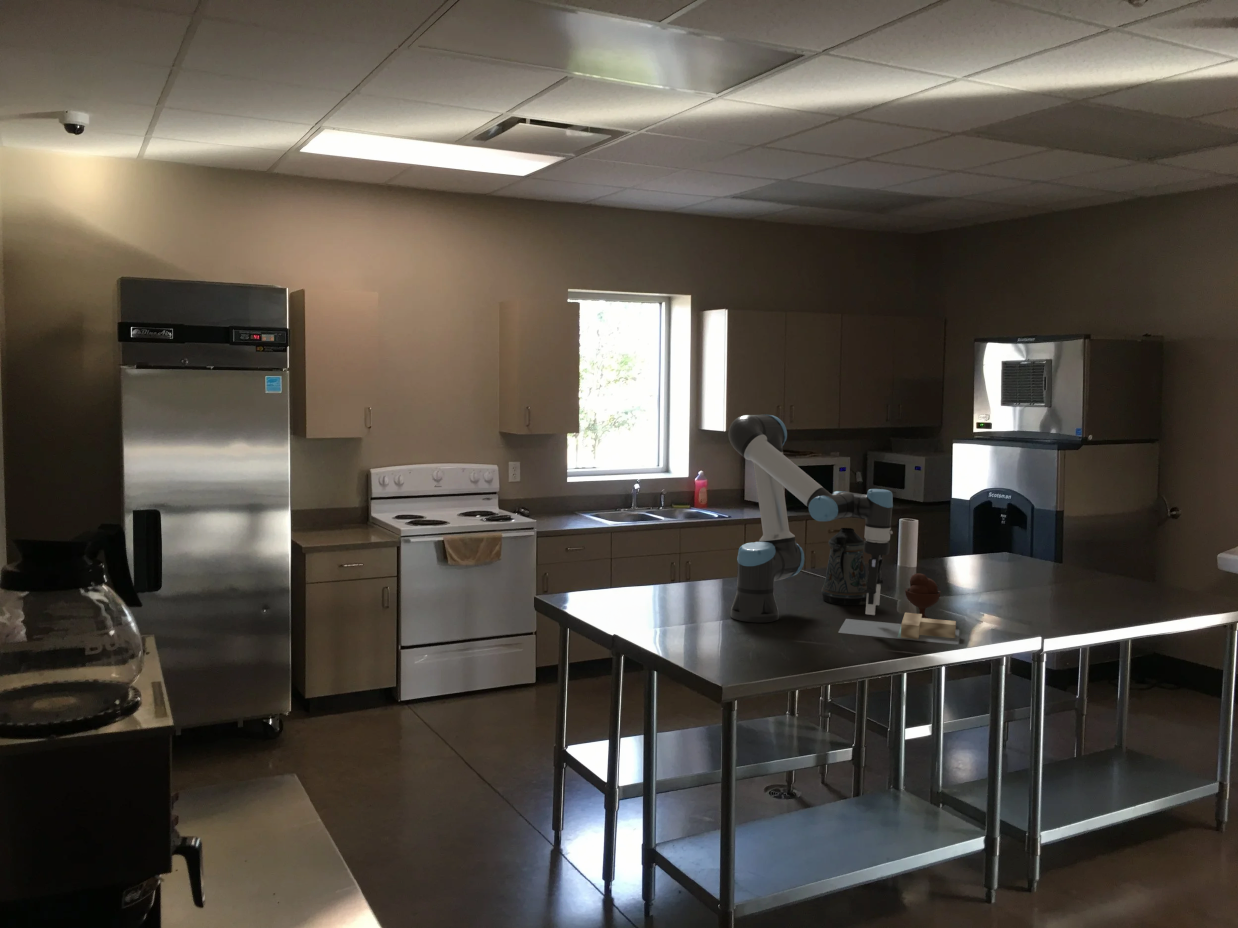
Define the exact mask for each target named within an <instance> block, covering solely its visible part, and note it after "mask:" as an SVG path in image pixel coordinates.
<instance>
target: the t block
mask: <svg viewBox="0 0 1238 928" xmlns="http://www.w3.org/2000/svg"><path fill="white" fill-rule="evenodd" d="M900 624H901V637H902V638H912V639H919V635H927V636H937V637H947V638H955V632H956V629H957V621H956V620H950V619H949V620H945V619H936V618H935V619H934V618H929V619H927V618H922V614H919V613H914V612H904V615H903V618H902V621H901V623H900Z"/></svg>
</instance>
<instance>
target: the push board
mask: <svg viewBox="0 0 1238 928" xmlns="http://www.w3.org/2000/svg"><path fill="white" fill-rule="evenodd" d="M837 633H840V634H849V635H857V636H866V637H867V636H870V637H879V638H889V639H897V640H907V641H908V640H910V641H918V642H928V643H938V644H949V645H959V640H960V639H959V638H960V629H957V628H956V632H955V638H947V637H937V636H927V635H919V639H912V638H902V637H901V623H894V622H884V621H883V622H882V621H873V620H864V619H863V620H862V619H851V618H845V620H844V622H843V623H842V624H841V627H840V628H839V630H838V632H837Z"/></svg>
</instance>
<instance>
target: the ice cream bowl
mask: <svg viewBox="0 0 1238 928" xmlns="http://www.w3.org/2000/svg"><path fill="white" fill-rule="evenodd" d="M909 586H910V587H909V588H905V591H904V592H905V596H906V599H907V600H908V602H909V603H910V604H911V605H913V606H915V607H917V608H918V610H919V611H918V614H922V618H927V619H930V617H928V616H927V615H926V609H927V608H931V607H933V606H934V605H936V604H937V602H938V601H939V600H940V596H941V590H938V585H937V583H936V582H935V580H933V579H932V578H929V577H927V575H926V574H924V573H914V574H913V575H911V577H910V579H909Z"/></svg>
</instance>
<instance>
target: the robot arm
mask: <svg viewBox="0 0 1238 928" xmlns="http://www.w3.org/2000/svg"><path fill="white" fill-rule="evenodd" d="M787 439H788V431H787V427H786V425H785V423H784V422H783V421H782V419H780V418H779V417H777V416H775V415H772V414H743V415H740V416H738V417H737V418H735V419H734V420H733V421H732V422H731V424H730V426H729V428H728V440H729V442H730V445H731V446H732V447H733V449H734V450H735V451H736V452H737V453H738V454H739V455H741V457H743V458H744V459H745V460H747V461H751V462H752V463H753V470H754V477H755V484H756V485H755V486H756V492H757V498H758V506H759V513H760V520H761V527H762V536H761V537H760V538H759V539H758V541H755V542H751V541H750V542H747V543H743V544H742V545H741V546H739V548H738V552H737V556H736V557H737V558H736V561H737V571H736V573H737V574H736V575H737V576H736V577H737V578H736V594H735V597H734V599H733V602H732V605H731V608H730V618H731V619H734V620H736V621H740V622H744V623H746V622H747V623H772V622H776V621H778V620H779V607H778V604H777V601H776V597H775V594H774V593H775V592H774V591H775V582H776V581H781V580H786V579H790V578H792V577H794V576H797V575H798V574H799V573H800V571H801V570H802V569H803V567H804V564H805V552H804V550H803V547H801V546H800V544H798V543H797V541H796V536H795V534H793V533H792V532H791V531H790V527H789V520H788V512H787V511H788V510H787V504H786V497H785V490H784V489H786V490H787V491H788V492H789V493H791V494H792V495H793V496H795V498H797V499H798V500H799V501H800V502H801V503H803V504H804V506H806V507H808V513H809V515H810V516H811V518H812V519H814V520H815V521H817V522H830V521H834V520H839V519H847V518H855V519H862V520H865V523H864V525H865V526H864V549H863V553H865V554H868V555H871V556H870V558H869V559H868V569H867V571H868V572H867V573H868V576H867V582H868V583H867V589H866V590H865V591H864V592H865V593H867V598H866V604H865V615H871V616H875V615H876V606H880V600H881V599H880V598H881V586H882V585H883V584H884V580H882V579H883V578H882V570H883V563H884V559H883V556H888V555H889V554H890V547H891V546H890V545H891V543H890V542H889V541H890V540H891V535H893V534H894V533H893V530H892V515H893V507H894V502H893V496H894V495H893V492H892V491H890V490H888V489H883V488H881V489H880V488H870V489H868V490H867V493H866V494H865V493H864V494H862V493H858V492H850V491H847V490H846V491H844V490H843V491H841V490H836V491H833V492H832V493H830V492H829V490H827V489H826V488H824V487H823V486H822V485H821V484H820V483H819V482H817V481H816V480H814V478H812V477H811V476H810V475H809V474H808V473H806V471H804V470H803V469H801V468H800V467H799V466H798V465H797V464H795V463H794V462H793V461H792V460H791V459H790V458H788V457H787V456H786V455H784V450H783V449H784V448H783V446H784V445H785V442H787ZM881 584H882V585H881Z"/></svg>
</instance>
